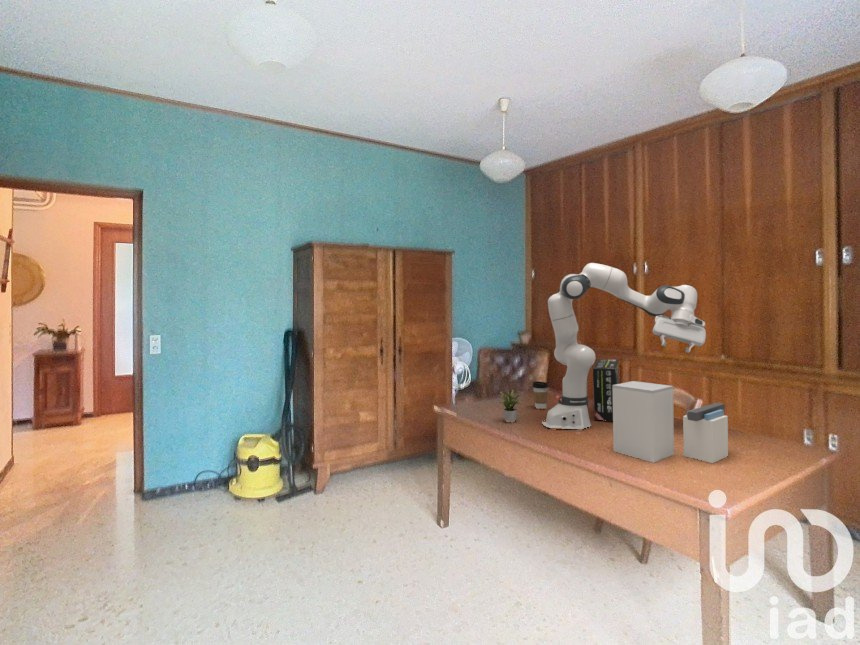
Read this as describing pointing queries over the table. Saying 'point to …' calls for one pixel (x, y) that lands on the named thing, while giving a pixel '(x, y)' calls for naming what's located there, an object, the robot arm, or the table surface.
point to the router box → (604, 388)
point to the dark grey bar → (704, 411)
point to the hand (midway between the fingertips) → (675, 348)
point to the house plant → (510, 406)
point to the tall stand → (643, 420)
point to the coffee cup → (540, 394)
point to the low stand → (706, 437)
